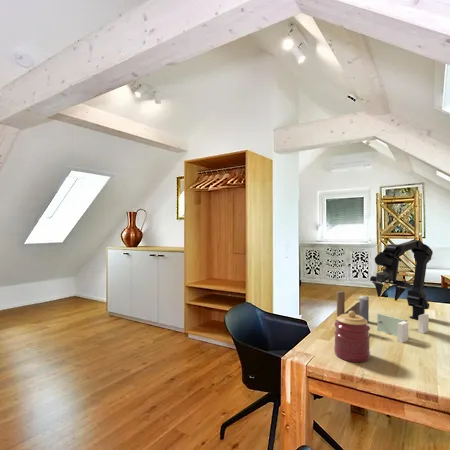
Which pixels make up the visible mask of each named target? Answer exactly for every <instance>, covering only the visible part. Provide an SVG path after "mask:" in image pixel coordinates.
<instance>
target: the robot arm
mask: <svg viewBox="0 0 450 450" xmlns="http://www.w3.org/2000/svg"><path fill="white" fill-rule="evenodd" d="M408 251H411V252H412V254H413V258H414V261H415V262H416V263H415V268H414V276H413V284H412V288H411V283H410V282H409V281H404V280H399V279H397V278H398V275H399V274H400V271H399V264H400V262H402V259H401V256H403V255H404V254H405V252H408ZM432 256H433V250H432V248H431V247H430V246H429V245H427V244H425V243H423V242H422V241H421V240H419V239H411V240H409V241H406V242H402V243H399V244H397V243H395V244H394V243H392V244H387V245H386V247H385V248H384V249H383V251H379V252H378V254H376V256H375V257H374V262H375V264H376V265H377V266H380V267H384V268H383V269H382V271H381V272H377V273H375V276H374V275H372V276H370V279H369V281H370V282H371V283H373V285H374V286H375V289H376V294H377V297H378V298H381V294H382V291H383V289H384V283H385V284H390V285H394V287H395V292H394V293H395V294H394V301H398V299H399V298H400V297H401V296H402V294H403V293H404V292H405V291H407V295H406V301H407V306H409V307H412V308H411V309H412V311H411V312H412V315H411V316H409V318H410V319H414V320H418V316H419V315H422V314H426V312H425V311H426V310H428V309H430V303H429V302H428V300H427V295H426V292H425V290H424V286H425V278H426V273H427V266H428V263H429V262H430V261H431V260H432Z"/></svg>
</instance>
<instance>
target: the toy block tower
mask: <svg viewBox="0 0 450 450" xmlns="http://www.w3.org/2000/svg"><path fill="white" fill-rule="evenodd" d="M345 295H346V294H345V291H343V290H338V291H336V318H337V317H338V316H340V315H342V314H348V313H349V311H354V312H355V314H356V315H360V301H358V302H356V303H355V304H354V305H353V306H351V307H350V308H349V309H347V310H345V308H346V307H345V297H346V296H345ZM336 321H338V320H337V319H336V320H335V322H336ZM335 322H334V323H335ZM334 327H335V328H336V326H335V325H334Z"/></svg>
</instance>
